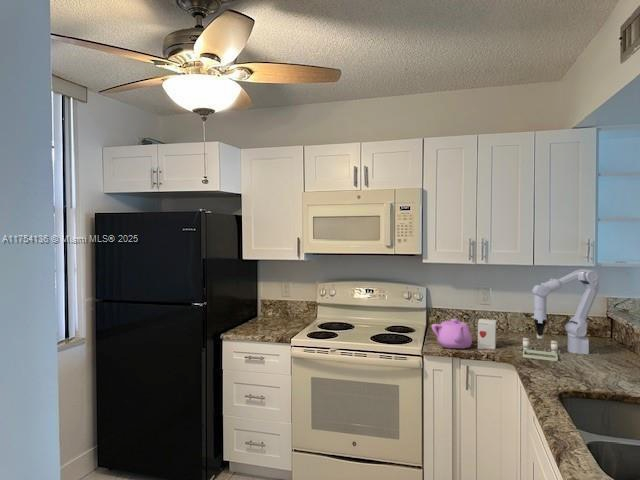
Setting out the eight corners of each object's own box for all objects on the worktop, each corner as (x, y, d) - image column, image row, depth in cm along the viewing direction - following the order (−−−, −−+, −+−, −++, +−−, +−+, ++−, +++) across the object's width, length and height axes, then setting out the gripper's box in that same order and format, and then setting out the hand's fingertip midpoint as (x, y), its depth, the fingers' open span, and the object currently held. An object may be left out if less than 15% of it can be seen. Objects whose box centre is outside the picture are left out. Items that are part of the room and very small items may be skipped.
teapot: (427, 342, 244) (427, 316, 244) (464, 342, 244) (465, 316, 244) (438, 353, 221) (438, 324, 221) (479, 353, 221) (479, 324, 221)
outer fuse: (529, 349, 226) (529, 337, 226) (529, 350, 224) (529, 339, 224) (522, 348, 228) (522, 337, 228) (522, 350, 225) (522, 338, 225)
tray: (556, 357, 215) (556, 352, 215) (557, 363, 205) (557, 358, 205) (523, 353, 222) (523, 349, 222) (522, 358, 212) (522, 354, 212)
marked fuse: (543, 338, 223) (543, 326, 223) (543, 339, 221) (543, 327, 221) (536, 337, 225) (536, 325, 225) (536, 338, 222) (536, 327, 222)
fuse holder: (560, 354, 221) (560, 349, 221) (561, 357, 216) (561, 352, 216) (519, 349, 230) (519, 344, 230) (519, 352, 224) (519, 347, 224)
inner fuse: (557, 352, 220) (557, 340, 220) (557, 353, 218) (557, 342, 218) (550, 351, 222) (550, 340, 222) (550, 353, 219) (550, 341, 219)
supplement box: (477, 349, 230) (477, 321, 230) (478, 345, 238) (478, 318, 238) (495, 351, 226) (495, 322, 226) (496, 347, 235) (496, 319, 234)
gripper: (531, 305, 231) (531, 331, 231) (531, 310, 218) (531, 336, 218) (546, 306, 228) (546, 332, 228) (547, 311, 215) (546, 338, 215)
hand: (540, 334), depth 223 cm, fingers closed on marked fuse, 3 cm apart
